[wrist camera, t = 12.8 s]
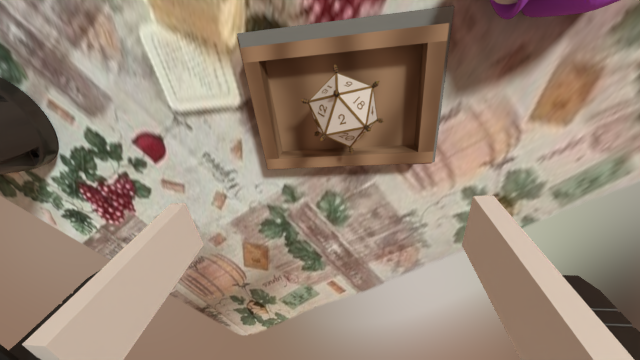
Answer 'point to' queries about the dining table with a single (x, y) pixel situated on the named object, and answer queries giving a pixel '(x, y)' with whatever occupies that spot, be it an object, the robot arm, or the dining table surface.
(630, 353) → the robot arm
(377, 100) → the brown wooden tray
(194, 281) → the dining table surface
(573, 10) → the toy camera
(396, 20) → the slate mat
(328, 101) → the game die
